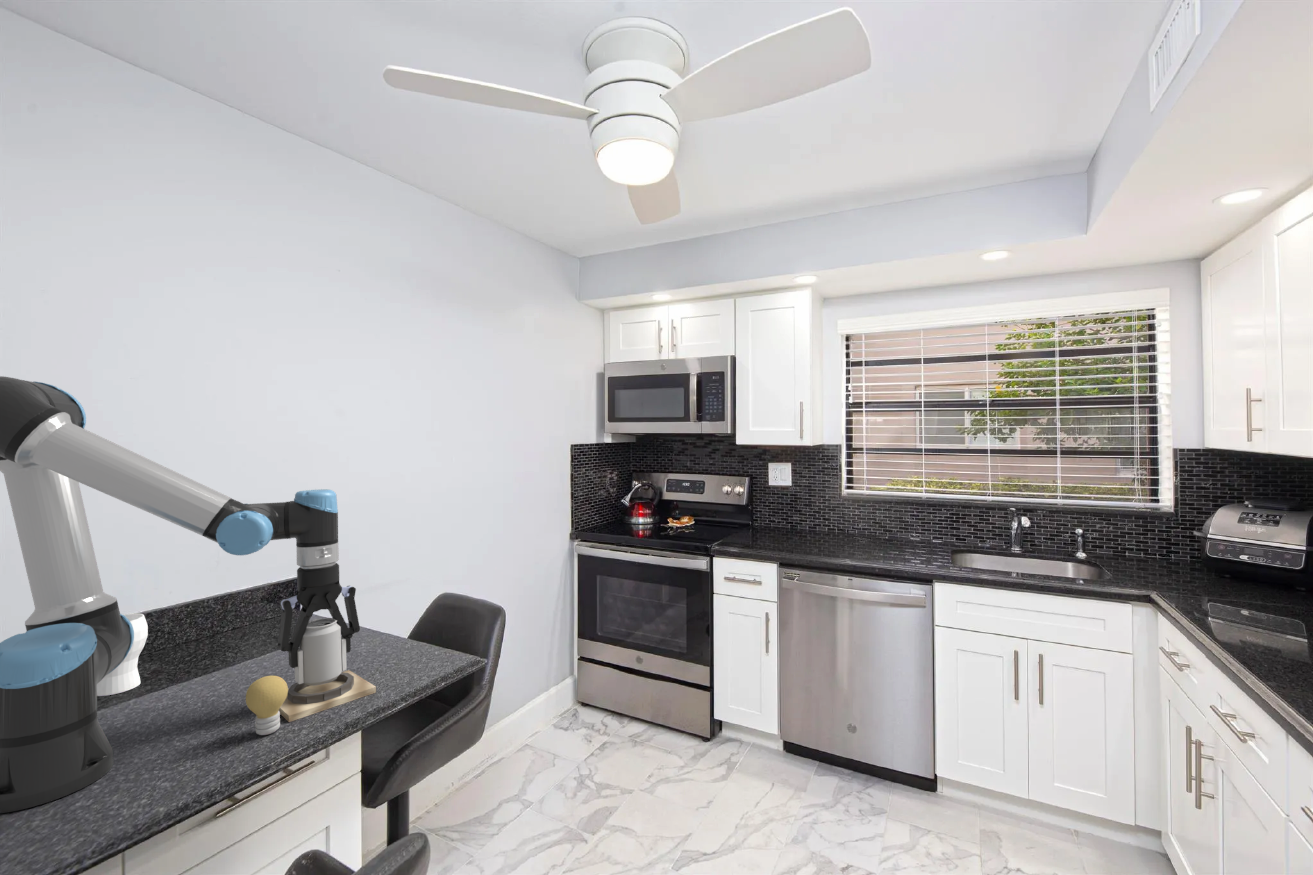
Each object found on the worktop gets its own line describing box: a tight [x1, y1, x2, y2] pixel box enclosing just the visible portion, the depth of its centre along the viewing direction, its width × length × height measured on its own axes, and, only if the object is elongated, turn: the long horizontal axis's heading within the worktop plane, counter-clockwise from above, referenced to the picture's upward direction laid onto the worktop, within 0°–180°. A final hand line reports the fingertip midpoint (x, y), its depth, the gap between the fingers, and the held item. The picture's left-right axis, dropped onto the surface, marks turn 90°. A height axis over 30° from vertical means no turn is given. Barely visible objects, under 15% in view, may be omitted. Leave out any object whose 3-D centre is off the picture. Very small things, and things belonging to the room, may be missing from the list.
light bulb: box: [245, 675, 289, 736], centre depth 105 cm, size 6×6×10 cm
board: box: [278, 669, 377, 723], centre depth 119 cm, size 16×14×3 cm
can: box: [299, 617, 343, 686], centre depth 119 cm, size 8×8×12 cm
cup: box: [97, 612, 149, 697], centre depth 126 cm, size 11×11×15 cm
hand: (321, 675), depth 119 cm, fingers closed on can, 7 cm apart
